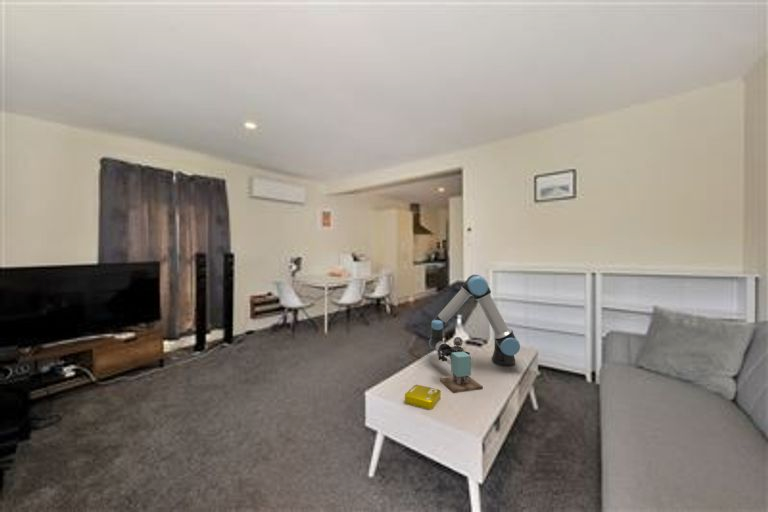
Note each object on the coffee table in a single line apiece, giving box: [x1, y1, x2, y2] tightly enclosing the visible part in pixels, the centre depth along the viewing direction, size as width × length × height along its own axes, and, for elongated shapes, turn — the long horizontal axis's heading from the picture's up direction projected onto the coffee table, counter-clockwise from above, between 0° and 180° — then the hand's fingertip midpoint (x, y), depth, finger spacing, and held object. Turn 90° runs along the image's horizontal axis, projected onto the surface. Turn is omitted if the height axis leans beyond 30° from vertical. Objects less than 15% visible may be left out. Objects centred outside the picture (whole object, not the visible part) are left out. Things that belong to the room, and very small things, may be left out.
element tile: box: [404, 384, 442, 410], centre depth 163 cm, size 15×15×5 cm
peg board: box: [439, 373, 483, 394], centre depth 180 cm, size 18×16×6 cm
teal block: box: [450, 352, 472, 377], centre depth 180 cm, size 8×8×11 cm
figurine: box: [449, 336, 465, 359], centre depth 220 cm, size 9×12×15 cm
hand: (461, 360), depth 180 cm, fingers open, 13 cm apart
